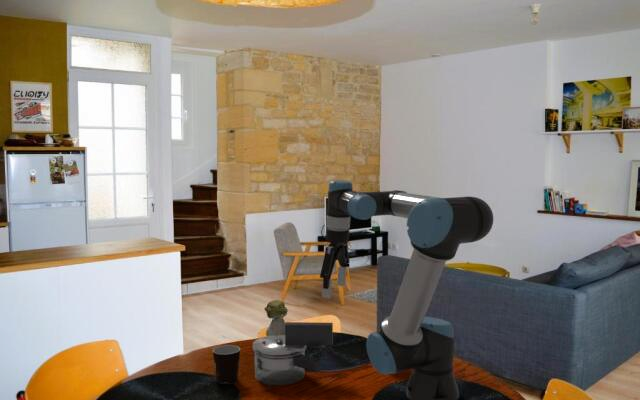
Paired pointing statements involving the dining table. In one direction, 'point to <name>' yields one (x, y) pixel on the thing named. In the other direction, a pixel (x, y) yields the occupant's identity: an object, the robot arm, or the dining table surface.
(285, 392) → the dining table surface
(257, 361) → the pot
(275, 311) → the green sculpted bust
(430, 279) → the robot arm
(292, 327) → the lid
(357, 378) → the dining table surface
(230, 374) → the coffee mug
